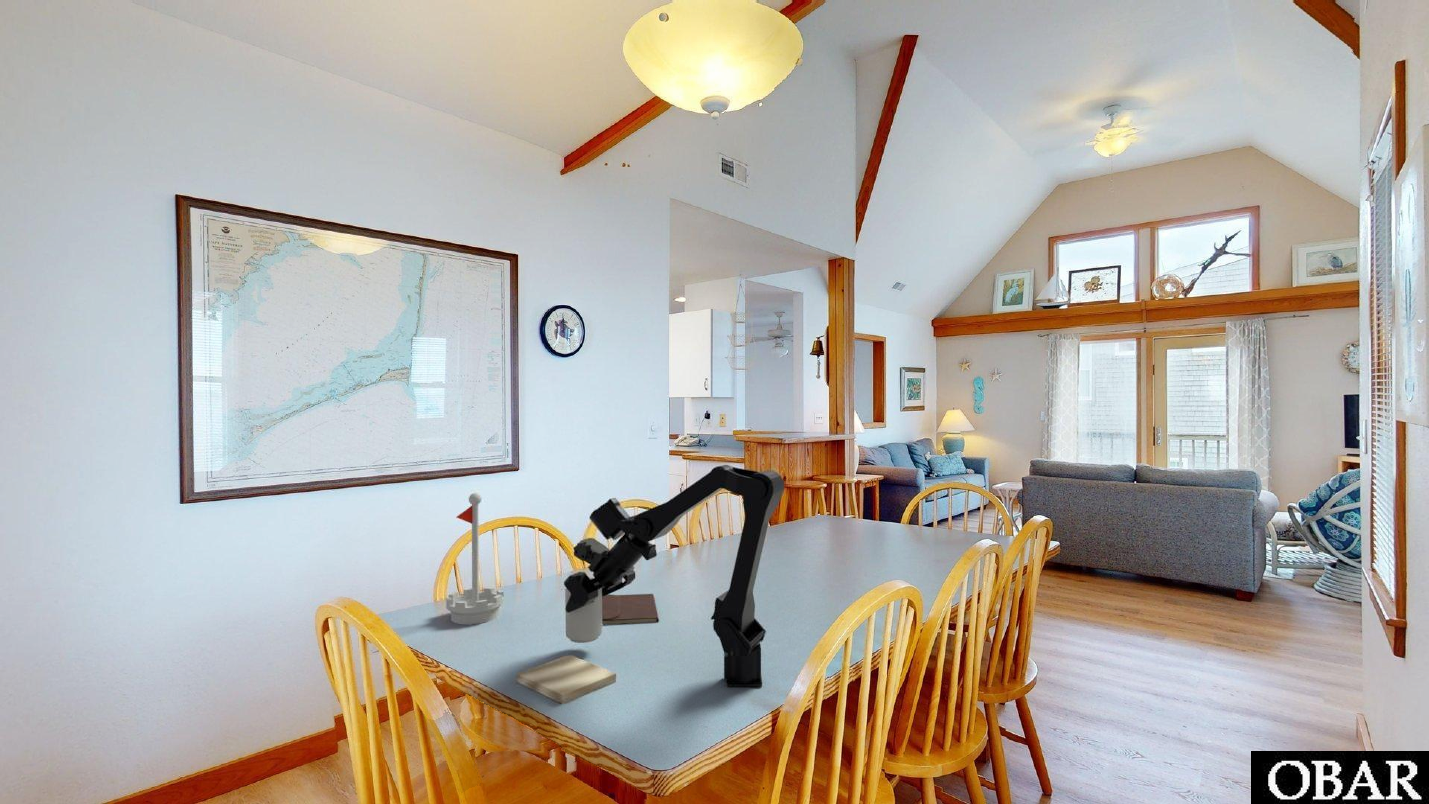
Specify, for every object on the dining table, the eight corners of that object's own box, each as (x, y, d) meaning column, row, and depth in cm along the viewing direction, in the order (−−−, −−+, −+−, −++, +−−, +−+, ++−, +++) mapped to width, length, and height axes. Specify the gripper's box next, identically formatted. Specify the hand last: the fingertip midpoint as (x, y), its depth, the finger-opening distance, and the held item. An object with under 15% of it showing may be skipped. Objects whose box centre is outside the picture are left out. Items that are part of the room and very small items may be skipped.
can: (558, 638, 138) (558, 580, 138) (589, 629, 144) (588, 573, 144) (578, 647, 133) (578, 587, 133) (609, 637, 138) (608, 579, 138)
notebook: (653, 599, 176) (653, 592, 176) (658, 624, 157) (658, 615, 157) (596, 602, 174) (596, 594, 174) (594, 627, 154) (594, 618, 154)
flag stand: (481, 605, 170) (481, 488, 170) (514, 614, 163) (514, 491, 162) (435, 619, 159) (434, 494, 159) (468, 629, 152) (468, 498, 152)
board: (516, 681, 123) (516, 673, 123) (569, 662, 132) (569, 654, 132) (562, 703, 114) (562, 695, 114) (616, 681, 123) (616, 673, 123)
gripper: (622, 519, 145) (581, 565, 150) (571, 535, 128) (526, 586, 133) (654, 558, 142) (611, 604, 146) (606, 579, 125) (559, 631, 129)
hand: (578, 605), depth 139 cm, fingers closed on can, 7 cm apart
